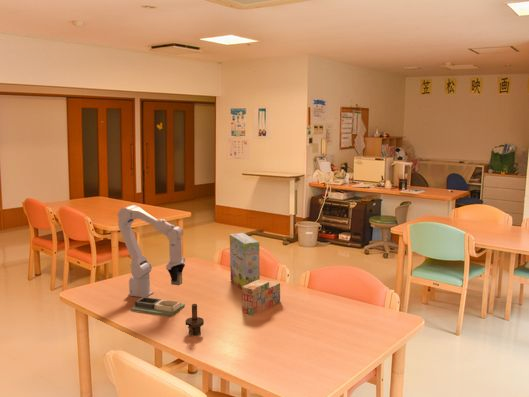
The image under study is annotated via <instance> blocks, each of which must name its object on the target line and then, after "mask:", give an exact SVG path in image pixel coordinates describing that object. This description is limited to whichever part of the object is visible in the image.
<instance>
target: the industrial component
mask: <svg viewBox="0 0 529 397" xmlns="http://www.w3.org/2000/svg"><path fill="white" fill-rule="evenodd" d="M204 323H205V322H204V318H202V317H199V316H198V304H197V303H192V304H191V317H188V318H186V319H185V326H187V329H188V335H189V334H190V336H197V335H200V334H201V333H202V332H201V330H202V329H201V327H202V326H203V325H204Z"/></svg>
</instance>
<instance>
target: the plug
mask: <svg viewBox="0 0 529 397" xmlns="http://www.w3.org/2000/svg"><path fill="white" fill-rule="evenodd" d="M170 281H171V284H170V285H173V286H177V287H179V286H181V285H182V284H183V271H182V272H178V273H177V281H176V282H174V281H172V279H170Z"/></svg>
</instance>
